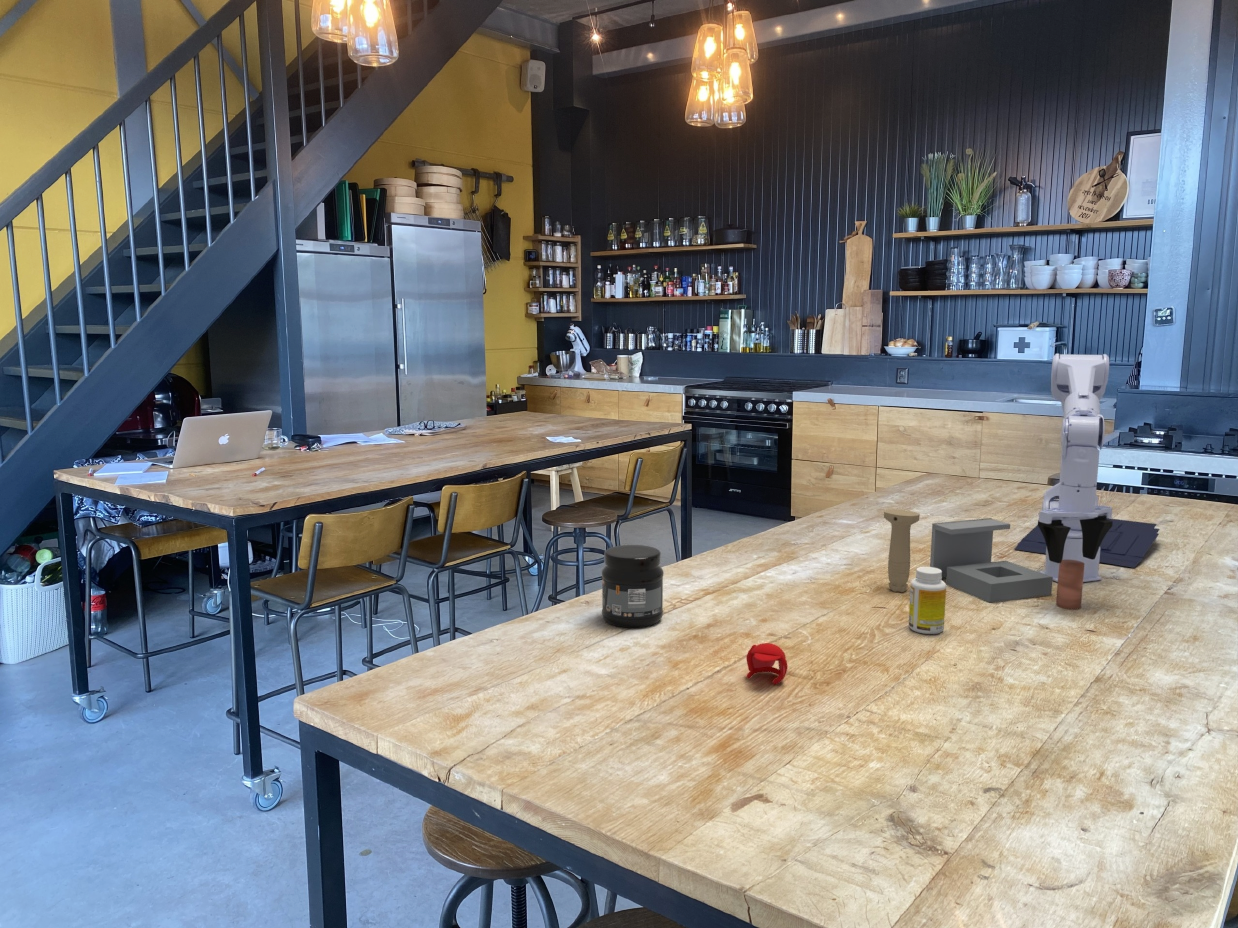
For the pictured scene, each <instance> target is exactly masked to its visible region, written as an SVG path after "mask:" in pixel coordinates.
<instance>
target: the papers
mask: <svg viewBox="0 0 1238 928" xmlns="http://www.w3.org/2000/svg"><path fill="white" fill-rule="evenodd" d="M1106 519H1107V520H1111V521H1113V525H1112V527H1111V528H1110V530H1109V531H1108V532H1107V534H1106V535H1105V537H1104V538H1103V540H1102V542H1101V545H1100V559H1099V563H1103V564H1109V565H1110V564H1111V565H1116V566H1121V567H1128V568H1133V569H1135V568H1136V566H1137V565H1138V564H1139V563H1140V562H1141V561H1142V560H1143V558H1144V557H1145V556H1146V554H1147V552H1148V551H1149V549H1150V548H1151V547H1152V545H1153V544H1154V542H1155V541H1156V540H1157V538H1158V537H1159V534H1160V533H1159V531H1160V528H1156V526H1157V523H1151V522H1145V521H1144V522H1141V521H1134V520H1133V521H1132V520H1128V519H1127V520H1126V519H1125V520H1124V519H1118V518H1106ZM1014 550H1018V551H1024V552H1031V553H1037V554H1038V553H1039V554H1045V555H1046V542H1045V539H1044V536H1043V534H1042V532H1041V530H1040V528H1039V527H1038V524H1036V526H1034V527H1033V528H1032V529H1031V530H1030V531H1029V532H1028V533H1027V534H1026V535H1025V536H1023V538H1022V539H1021V540H1020V541H1019V542H1018V543H1017V545H1016V546H1015V547H1014Z"/></svg>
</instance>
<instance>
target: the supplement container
mask: <svg viewBox="0 0 1238 928" xmlns="http://www.w3.org/2000/svg"><path fill="white" fill-rule="evenodd" d="M661 554H662V553H661V551H660V549H658V548H656V547H653V546H649V545H644V544H642V545H641V544H622V545H615V546H612V547H608V548H607V549H606V550H605V551H604V555H603V556H604V564H605V565H604V566H603V568H602V570H601V574H600V575H601V579H602V580H601V582H602V583H601V586H602V588H601V591H602V593H601V594H602V596H601V597H602V601H601V602H602V606H601V607H602V609H601V616H602V618H603V620H605V621H606V622H607V623H608V624H611V625H612V626H616V627H620V628H628V629H629V628H630V629H636V628H646V627H650V626H652V625H655V624H657V623H659V622H660V620H661V619H662V618H663V616H664V615H663V614H664V609H663V608H664V606H663V603H664V601H663V598H664V597H663V596H664V595H663V591H664V590H663V588H664V586H663V585H664V581H663V580H664V576H665V575H664V569H663V568H662V567H661V565H660V564H661V560H662V558H661V557H662V556H661Z"/></svg>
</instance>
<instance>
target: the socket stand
mask: <svg viewBox="0 0 1238 928" xmlns="http://www.w3.org/2000/svg"><path fill="white" fill-rule="evenodd" d="M931 525H932V526H931V538H930V539H931V543H930V556H929V557H930V561H929V567H934V568H938V569H940V570H941V571H942V579H946V580H945V584H946V586H949V587H951V588H953V589H956V590H958V591H961V592H963V593H965V594H968V595H970V596H972V597H975V598H978V599H979V600H982V601H985V602H987V603H989V604H990V603H991V604H992V603H1000V602H1006V601H1007V602H1008V601H1015V600H1023V599H1032V598H1037V597H1046V596H1047V597H1048V596H1052V594H1053V593H1052V591H1053V577H1052V576H1049V575H1046V574H1043V573H1040V572H1037V571H1038V570H1034V569H1032V568H1029V567H1025V566H1023V565H1020V564H1017V563H1014V562H1011V561H1008V560H1000V561H999V560H997V561H992V556H993V555H992V553H993V539H994V531H1003V530H1010V529H1011V523H1009V522H1006V521H1002V520H998V519H995V518H991V517H989V518H988V517H987V518H976V519H967V520H965V519H964V520H955V521H944V522H935V523H934V522H932V524H931Z"/></svg>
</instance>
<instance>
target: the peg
mask: <svg viewBox="0 0 1238 928" xmlns="http://www.w3.org/2000/svg"><path fill="white" fill-rule="evenodd" d="M1084 565H1085V564H1084V563H1083V562H1081V561H1076V560H1062V562H1061V563H1059V573H1058V582H1057V586H1056V600H1055V601H1056V603H1055V605H1056V606H1057V607H1059V608H1061V609H1065V610H1080V609H1081V608H1082V602H1083V600H1082V599H1083V598H1082V597H1083V586H1084V582H1083V577H1084Z"/></svg>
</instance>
